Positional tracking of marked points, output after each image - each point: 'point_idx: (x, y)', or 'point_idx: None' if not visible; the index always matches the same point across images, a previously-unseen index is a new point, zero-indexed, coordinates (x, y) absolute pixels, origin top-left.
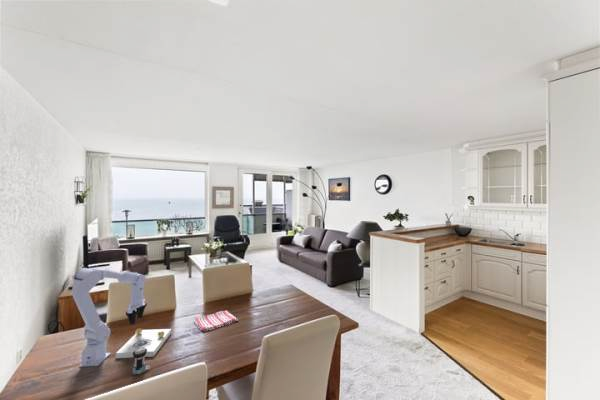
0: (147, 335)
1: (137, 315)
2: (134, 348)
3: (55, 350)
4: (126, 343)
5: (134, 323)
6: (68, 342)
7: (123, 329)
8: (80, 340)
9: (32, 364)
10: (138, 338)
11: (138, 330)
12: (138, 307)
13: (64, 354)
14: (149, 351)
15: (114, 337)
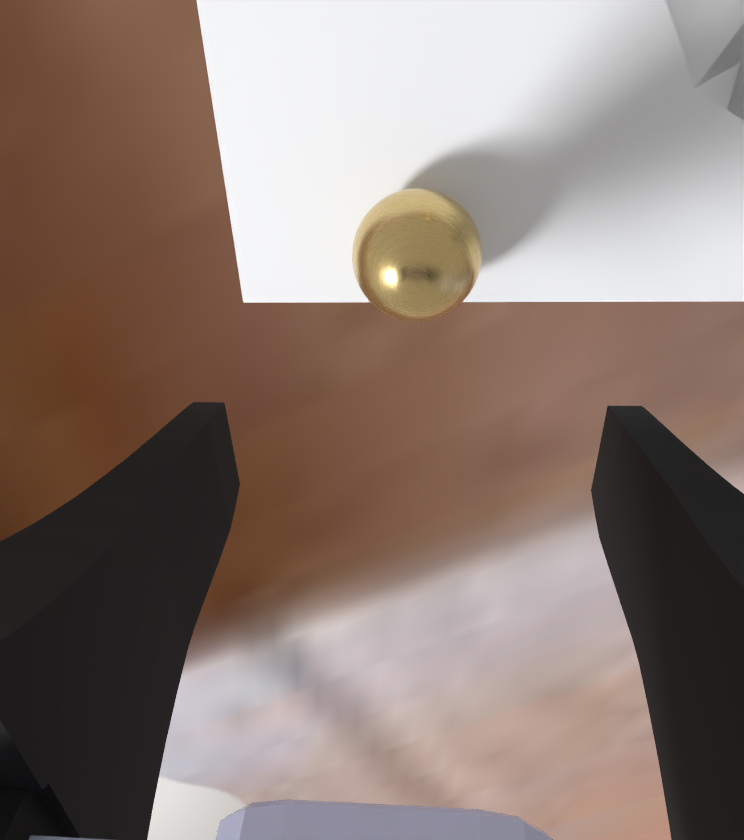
0: (483, 7)
1: (223, 538)
2: None
3: (550, 803)
4: (742, 289)
5: (650, 417)
6: (426, 790)
7: None
8: (398, 745)
9: None
10: (592, 155)
11: (463, 261)
12: (126, 756)
13: (642, 741)
14: None
15: (350, 534)
